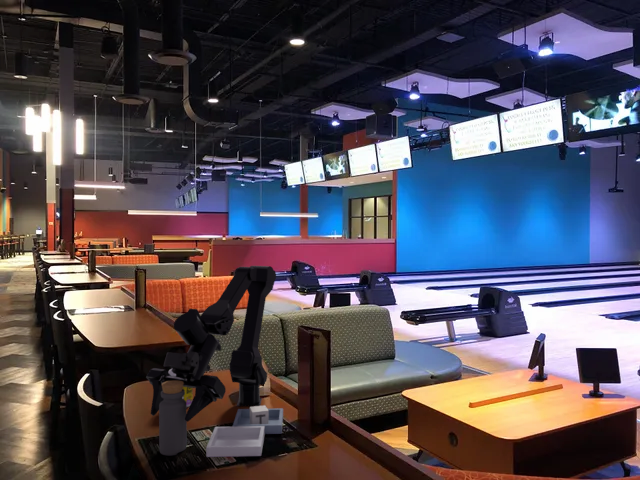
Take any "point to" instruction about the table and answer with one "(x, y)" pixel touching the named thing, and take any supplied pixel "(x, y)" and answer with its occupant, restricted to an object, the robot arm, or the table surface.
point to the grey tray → (236, 441)
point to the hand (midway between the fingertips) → (168, 417)
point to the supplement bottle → (188, 392)
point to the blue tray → (271, 428)
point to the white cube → (259, 415)
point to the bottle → (172, 418)
